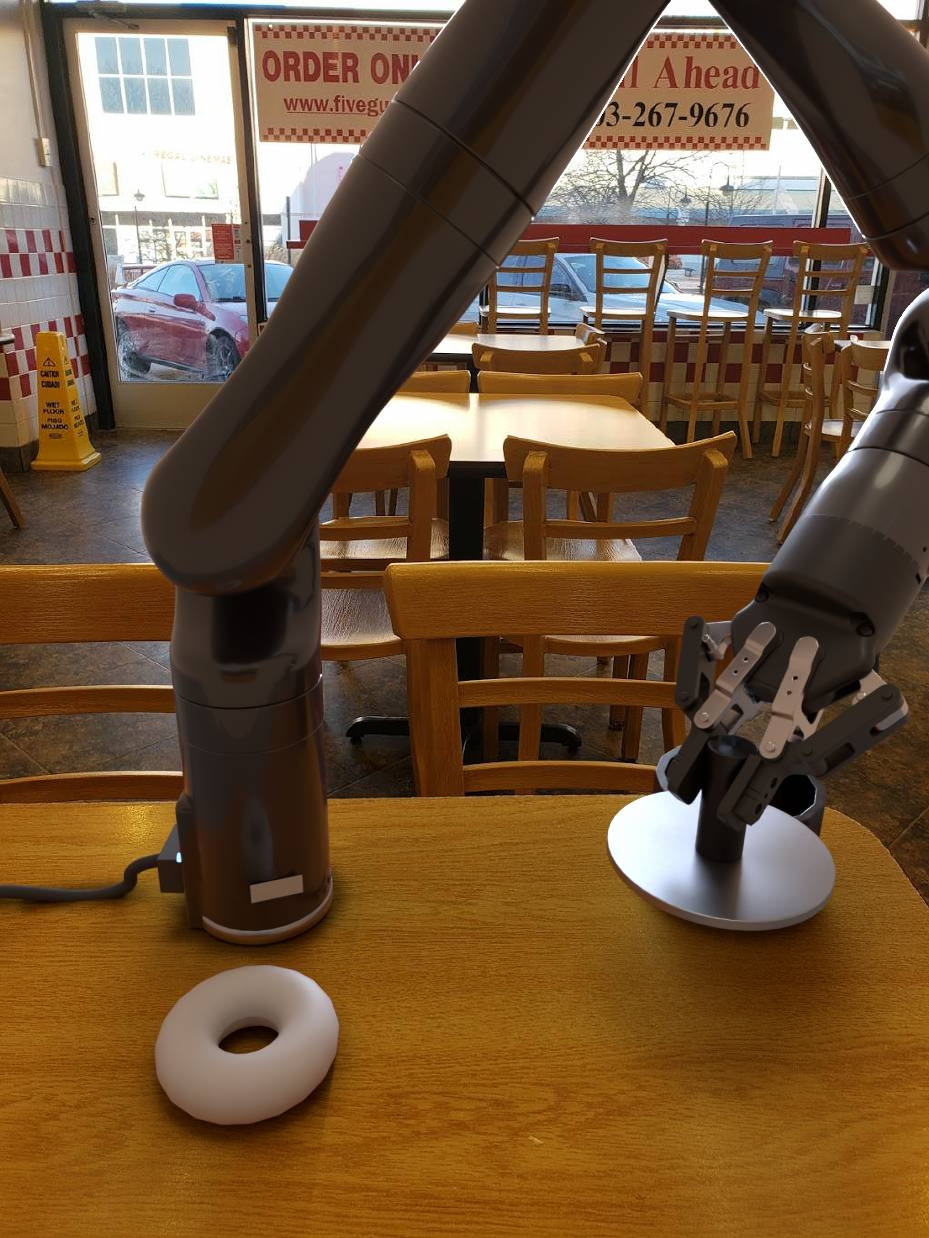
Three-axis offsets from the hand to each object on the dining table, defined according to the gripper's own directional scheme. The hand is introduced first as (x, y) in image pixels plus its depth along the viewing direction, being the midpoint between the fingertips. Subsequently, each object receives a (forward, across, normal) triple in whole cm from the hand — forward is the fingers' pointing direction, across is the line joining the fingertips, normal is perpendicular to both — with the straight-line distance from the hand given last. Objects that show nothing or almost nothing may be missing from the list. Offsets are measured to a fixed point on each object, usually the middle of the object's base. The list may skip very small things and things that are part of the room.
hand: (703, 809), depth 50 cm
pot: (+1, -6, +20) cm, 22 cm away
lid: (+1, 0, +4) cm, 5 cm away
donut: (+25, -13, -4) cm, 29 cm away
